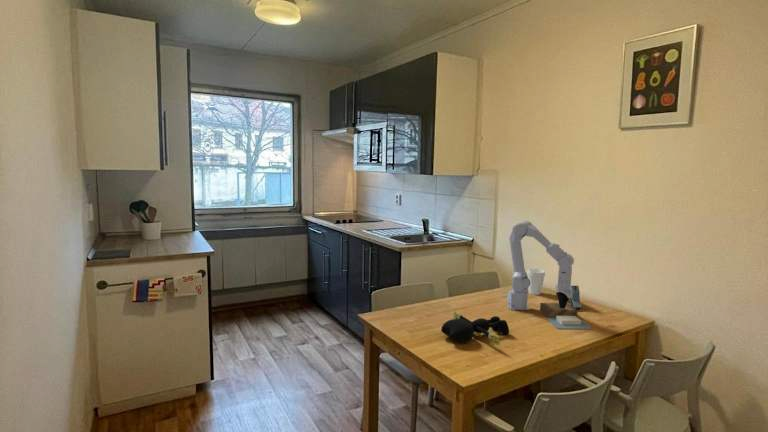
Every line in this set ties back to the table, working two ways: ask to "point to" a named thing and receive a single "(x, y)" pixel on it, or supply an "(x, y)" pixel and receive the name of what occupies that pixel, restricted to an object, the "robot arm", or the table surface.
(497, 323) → the toy
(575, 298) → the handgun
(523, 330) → the table surface
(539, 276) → the foam cup
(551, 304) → the brown flat block
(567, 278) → the robot arm
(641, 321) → the table surface
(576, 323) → the cream flat block
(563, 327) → the mat
